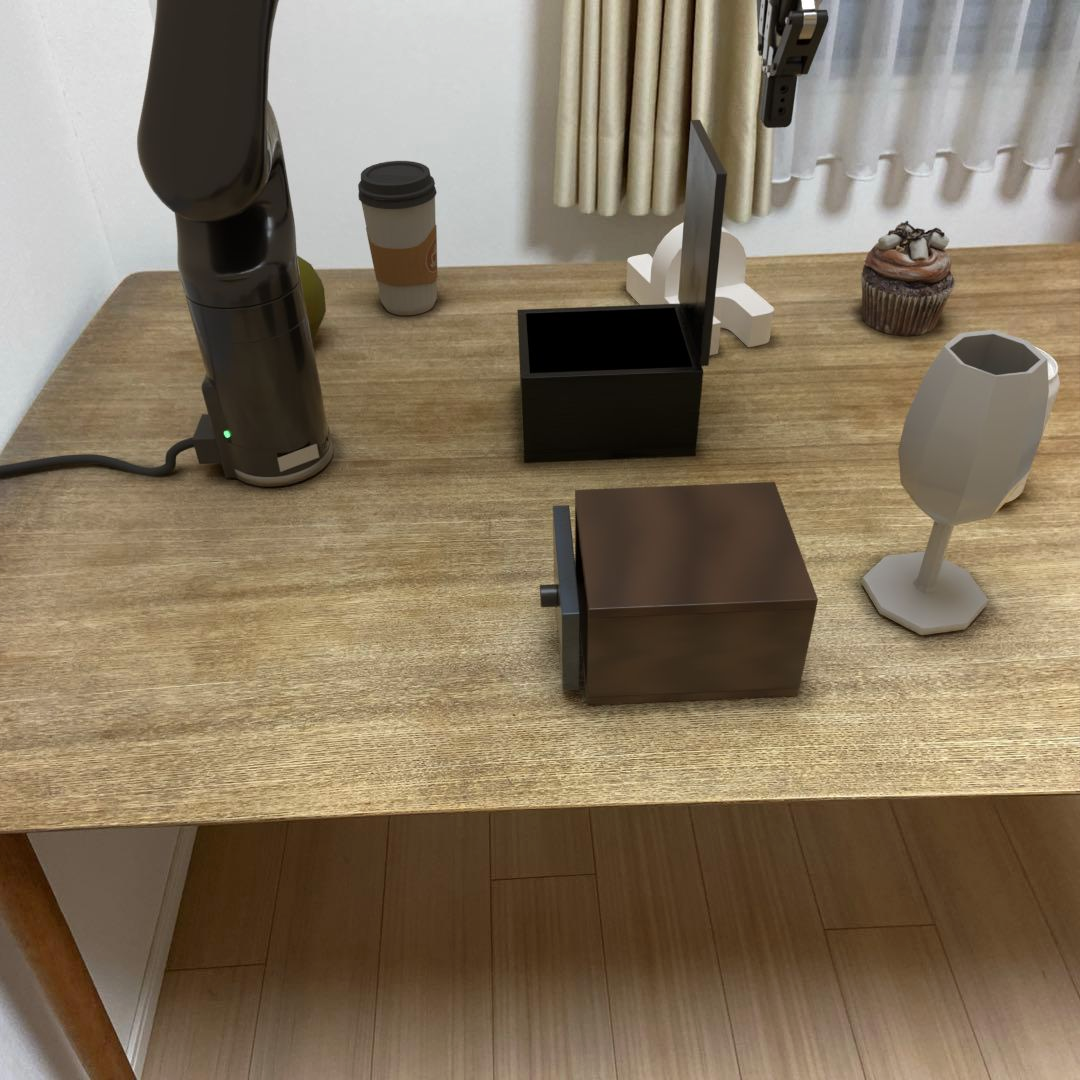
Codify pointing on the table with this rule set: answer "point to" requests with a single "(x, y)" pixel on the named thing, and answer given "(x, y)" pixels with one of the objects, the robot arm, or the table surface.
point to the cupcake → (906, 281)
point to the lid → (701, 239)
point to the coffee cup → (401, 233)
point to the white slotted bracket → (732, 298)
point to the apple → (312, 295)
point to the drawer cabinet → (690, 593)
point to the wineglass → (961, 469)
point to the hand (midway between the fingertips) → (775, 124)
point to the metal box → (608, 383)
